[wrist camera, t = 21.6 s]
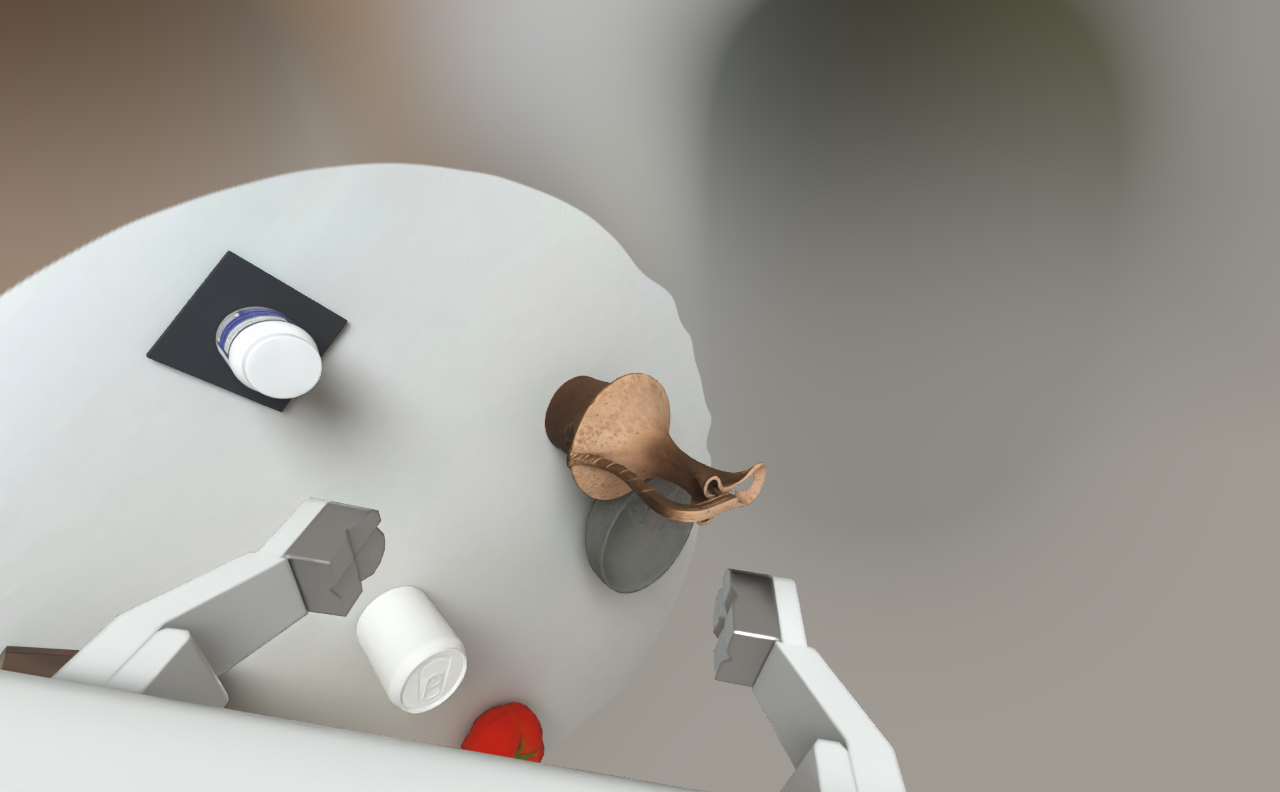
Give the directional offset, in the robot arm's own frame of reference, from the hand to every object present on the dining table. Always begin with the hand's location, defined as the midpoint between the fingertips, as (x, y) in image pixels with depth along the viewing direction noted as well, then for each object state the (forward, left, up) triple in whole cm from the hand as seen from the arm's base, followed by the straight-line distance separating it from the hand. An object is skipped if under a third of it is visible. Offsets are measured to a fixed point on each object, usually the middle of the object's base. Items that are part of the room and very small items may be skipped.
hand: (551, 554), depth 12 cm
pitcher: (+39, +7, -45) cm, 60 cm away
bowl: (+57, -2, -45) cm, 73 cm away
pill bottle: (+4, -3, -44) cm, 45 cm away
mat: (+3, -3, -45) cm, 45 cm away
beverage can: (+31, -25, -45) cm, 60 cm away
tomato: (+58, -40, -45) cm, 84 cm away
